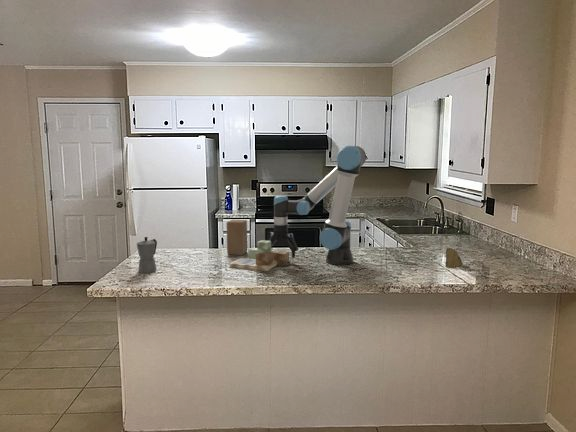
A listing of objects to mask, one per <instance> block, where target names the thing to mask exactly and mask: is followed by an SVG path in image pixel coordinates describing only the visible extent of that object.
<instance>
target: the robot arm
mask: <svg viewBox="0 0 576 432" xmlns="http://www.w3.org/2000/svg"><path fill="white" fill-rule="evenodd" d="M366 160H367V155H366V152H365V150H364V148H362V147H361V146H359V145H358V146H357V145H346V146H344V147H342V148H341V149H340V150H338V153H337V155H336V162H337V165H336V166H335V167H334V168H333V170H331V171H330V172H329V173H328V174H327V175H326V176H325V177H324V178H323V179H322V180H321V181H319V183H317V184H316V185H315V186H314V187H313V188H312V189H311V190H310V191H308V192H307V194H305V196H304V197H302V198H301V199H297V200H296V199H295V200H292V199H288V196H287V195H276V196H274V198H273V224H274V225H273V232H272V231H270V232H268V236H267V239H266V240H267V241H271V240H272V238H273V236H274V238H273V240H272V241H271V251H272V247H273V246H274V244H275V243H276V242H277V241H278V242H284V243H285V244H286V245H287V246H288V248H289V250H290V251H289V262H290V265H292V264H294V258H295V257H296V252H298V251H299V247H298V245H297V242H296V240H295V237H294V233H289V232H288V231H289V230H288V229H289V228H288V227H289V226H288V222H289V221H288V217H289V216H288V215H300V216H303V215H304V216H305V215H308V214H309V213H310V211H311V210H313V209H314V208H315V206H316V205H317V204H318V203H319V202H320V201H321V200H322V199H323V198H325V197H326V196H327V195H328V194H329V193H330V192H331V191H332V190H333V189H334V194H333V198H332V202H331V207H330V211H329V216H328V219H326V220H325V222H324V224H323V225H324V226H323V228H322V231H321V232H320V234H319V242H320V244H321V245H322V247H324V248H325V249H327V250H328V251H327V253H326V256H325V262H326V263H328V264H331V265H335V266H336V265H338V266H341V265H344V266H345V265H346V266H347V265H351V264H352V263H354V257H353V253H352V250H351V234H352V233H351V231H352V230H351V228H352V226H351V222H350V221H346V220H347V215H348V211H349V206H350V201H351V197H352V192H353V188H354V184H355V180H356V179H355V178H356V177H358V176H359V175H360V171H361V167H362V166H363V165H364V164H365V163H366ZM272 252H273V251H272Z"/></svg>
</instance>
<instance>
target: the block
mask: <svg viewBox="0 0 576 432" xmlns="http://www.w3.org/2000/svg"><path fill="white" fill-rule="evenodd" d="M247 223H248V222H247V220H245V219H231V220H229V221H227V222H226V247H227V248H226V253H227V255H230V256H243V255H245V254H246V253H247V252H248V224H247Z"/></svg>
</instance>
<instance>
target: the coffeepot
mask: <svg viewBox="0 0 576 432" xmlns="http://www.w3.org/2000/svg"><path fill="white" fill-rule="evenodd" d="M143 238H144V240H141V241H138V242H136V247H137V252H138V256H139V263H138V273H140V274H153V273H155V272H157V265H156V260H155V256H154V255H155V254H156V251H157V245H158V242H157V240H156V239H155V238H153V239H149V237H148V236H145V237H143ZM148 239H149V240H148Z"/></svg>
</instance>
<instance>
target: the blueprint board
mask: <svg viewBox="0 0 576 432" xmlns="http://www.w3.org/2000/svg"><path fill="white" fill-rule="evenodd" d="M276 266H278V264H277V261H273V263H271V264H270V265H268V266H266V265H256V259H249V258H245V257H239V258H237V259H236V260H234V261H231V262H230V263H229V268H234V269H235V268H236V269H245V270H255V271H264V272H268V271H270V270H271V269H273V268H275V267H276Z"/></svg>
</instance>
